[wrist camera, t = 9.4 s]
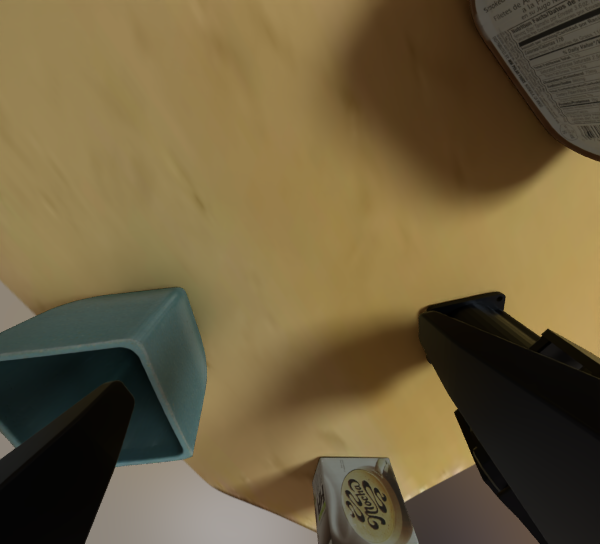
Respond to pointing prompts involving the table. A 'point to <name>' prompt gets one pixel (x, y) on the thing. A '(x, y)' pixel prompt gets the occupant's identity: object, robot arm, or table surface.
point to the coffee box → (360, 503)
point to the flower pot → (109, 369)
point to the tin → (550, 62)
